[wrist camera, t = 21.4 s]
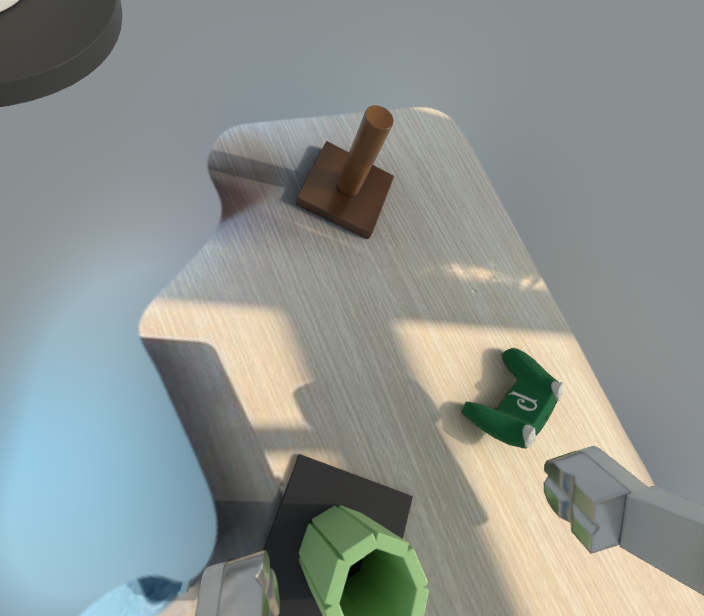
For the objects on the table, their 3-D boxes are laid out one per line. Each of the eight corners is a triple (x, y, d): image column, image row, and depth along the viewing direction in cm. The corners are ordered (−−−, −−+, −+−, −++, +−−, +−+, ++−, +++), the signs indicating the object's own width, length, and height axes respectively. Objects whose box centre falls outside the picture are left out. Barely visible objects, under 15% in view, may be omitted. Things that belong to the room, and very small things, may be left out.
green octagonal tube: (288, 582, 25) (310, 647, 18) (317, 496, 27) (348, 521, 20) (360, 605, 26) (412, 677, 18) (382, 520, 28) (437, 553, 21)
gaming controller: (461, 429, 35) (523, 466, 31) (458, 406, 33) (524, 443, 29) (508, 365, 39) (568, 391, 35) (508, 341, 37) (572, 365, 33)
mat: (243, 605, 24) (243, 607, 24) (298, 453, 28) (299, 454, 28) (375, 644, 26) (377, 647, 26) (410, 495, 30) (412, 496, 30)
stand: (295, 204, 36) (315, 125, 26) (323, 148, 39) (350, 61, 30) (368, 239, 37) (411, 175, 28) (390, 182, 40) (435, 109, 31)
